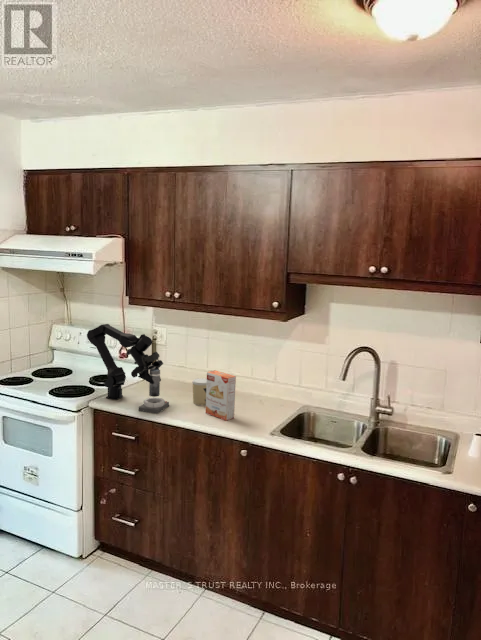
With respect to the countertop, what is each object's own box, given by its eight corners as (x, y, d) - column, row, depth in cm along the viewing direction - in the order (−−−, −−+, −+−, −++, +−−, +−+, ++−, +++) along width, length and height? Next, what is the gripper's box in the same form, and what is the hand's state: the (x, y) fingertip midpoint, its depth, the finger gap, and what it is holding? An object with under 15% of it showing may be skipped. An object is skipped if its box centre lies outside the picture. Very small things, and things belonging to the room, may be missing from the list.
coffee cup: (207, 407, 260) (208, 383, 258) (189, 405, 262) (190, 382, 260) (211, 401, 269) (212, 379, 267) (194, 399, 271) (195, 377, 269)
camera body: (138, 411, 250) (138, 403, 249) (150, 403, 262) (150, 395, 261) (157, 413, 247) (157, 405, 246) (168, 405, 259) (169, 398, 258)
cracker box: (204, 413, 250) (206, 371, 247) (213, 410, 255) (215, 369, 251) (225, 421, 241) (227, 377, 238) (234, 418, 246) (236, 375, 242)
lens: (146, 394, 253) (147, 369, 251) (155, 392, 257) (156, 368, 255) (153, 397, 250) (153, 372, 248) (161, 395, 253) (162, 370, 251)
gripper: (136, 350, 243) (154, 377, 240) (160, 344, 259) (178, 369, 256) (123, 364, 248) (140, 390, 245) (147, 357, 264) (164, 381, 261)
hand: (156, 382), depth 252 cm, fingers closed on lens, 5 cm apart
